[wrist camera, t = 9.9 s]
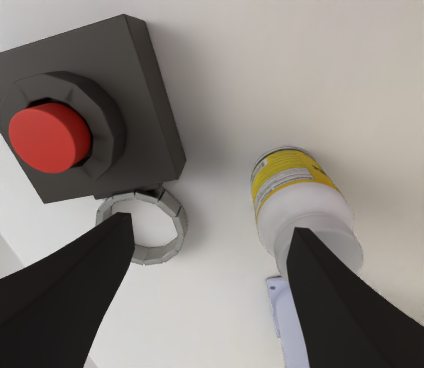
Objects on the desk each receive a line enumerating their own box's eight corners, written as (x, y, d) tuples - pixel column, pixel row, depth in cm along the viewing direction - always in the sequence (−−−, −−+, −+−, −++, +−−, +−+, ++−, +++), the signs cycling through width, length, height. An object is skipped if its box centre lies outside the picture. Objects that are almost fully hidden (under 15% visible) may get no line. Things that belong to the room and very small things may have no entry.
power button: (101, 155, 16) (86, 167, 14) (50, 166, 16) (31, 178, 15) (74, 96, 14) (54, 101, 12) (19, 110, 15) (-6, 117, 13)
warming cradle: (196, 246, 25) (193, 259, 23) (123, 256, 26) (116, 269, 25) (168, 163, 21) (162, 172, 20) (84, 179, 22) (73, 189, 21)
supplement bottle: (323, 195, 21) (384, 293, 13) (259, 210, 23) (275, 310, 14) (311, 135, 19) (375, 204, 10) (242, 156, 20) (247, 233, 12)
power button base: (186, 160, 21) (172, 194, 16) (69, 183, 23) (24, 219, 18) (145, 20, 17) (107, 7, 12) (4, 63, 18) (-78, 67, 14)
